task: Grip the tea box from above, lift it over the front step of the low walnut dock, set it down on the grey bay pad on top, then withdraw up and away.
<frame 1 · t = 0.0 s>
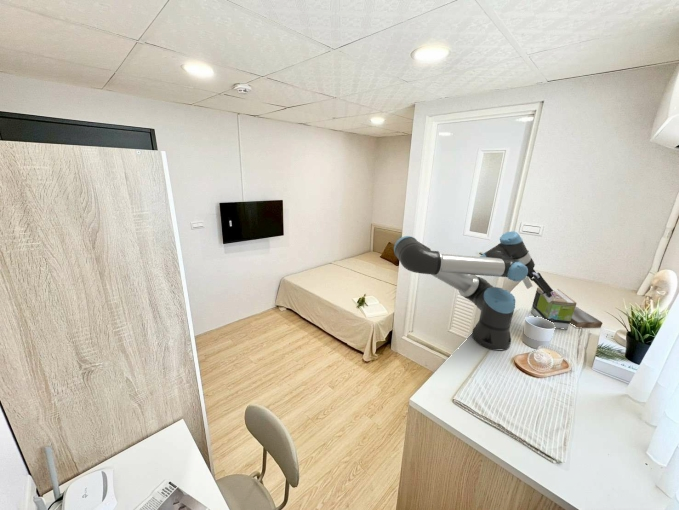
hand: (539, 293, 125), 15 cm above the table, tool tilted 35°, fingers open, 13 cm apart
tea box: (547, 320, 130), on the table
dock: (572, 317, 132), on the table
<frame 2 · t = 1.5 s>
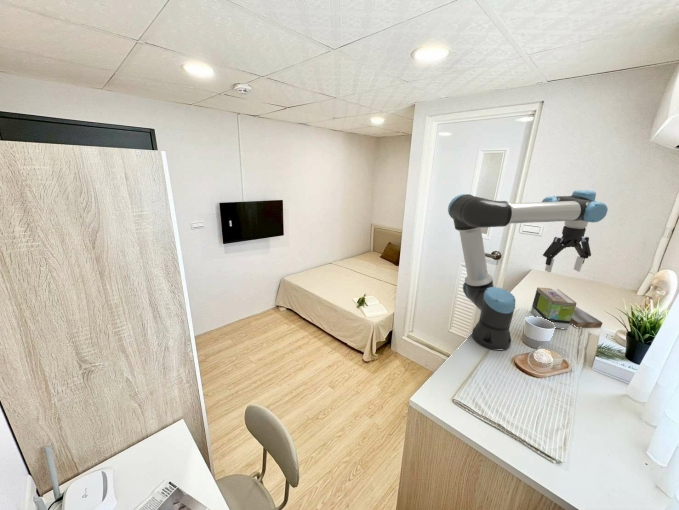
hand: (562, 270, 121), 27 cm above the table, tool pointing down, fingers open, 13 cm apart
nothing on the table moved.
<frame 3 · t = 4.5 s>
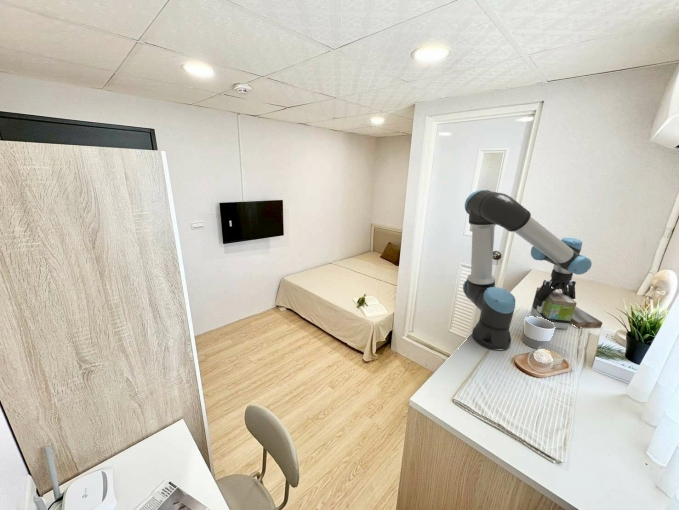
hand: (550, 311, 129), 5 cm above the table, tool pointing down, fingers closed on tea box, 11 cm apart
tea box: (548, 320, 131), on the table, touching gripper
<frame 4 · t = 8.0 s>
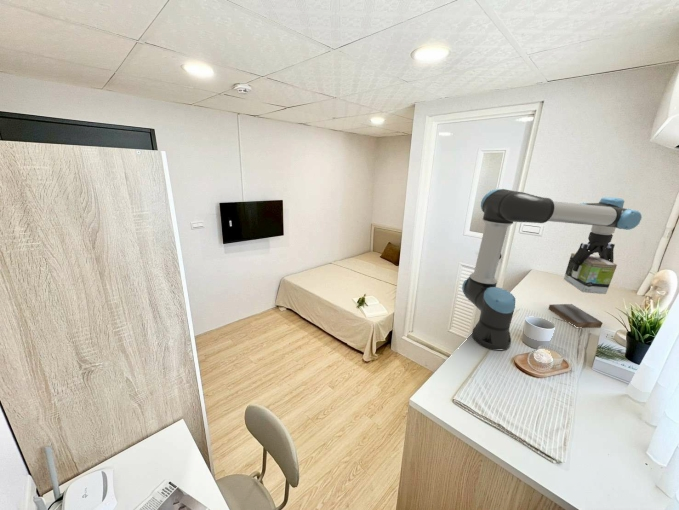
hand: (586, 277, 124), 23 cm above the table, tool pointing down, fingers closed on tea box, 11 cm apart
tea box: (583, 286, 126), point 18 cm above the table, touching gripper
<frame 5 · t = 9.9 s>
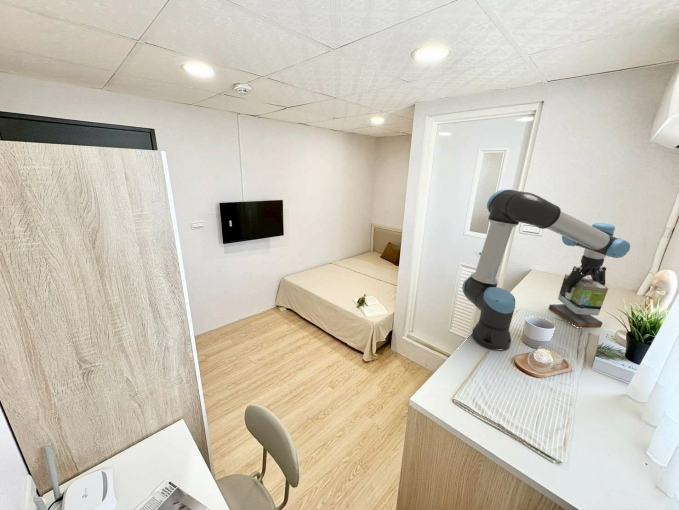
hand: (579, 298, 128), 11 cm above the table, tool pointing down, fingers closed on tea box, 11 cm apart
tea box: (576, 307, 130), point 6 cm above the table, touching gripper
when the fingers open (9 cm above the table, at t = 11.4 s): tea box drops 1 cm, resting on dock.
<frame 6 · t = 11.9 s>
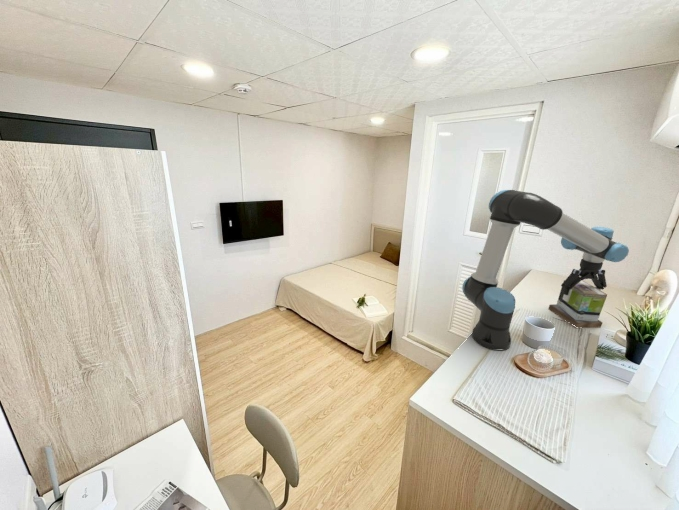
hand: (578, 300, 129), 10 cm above the table, tool pointing down, fingers open, 13 cm apart
tea box: (575, 313, 131), point 3 cm above the table, touching dock
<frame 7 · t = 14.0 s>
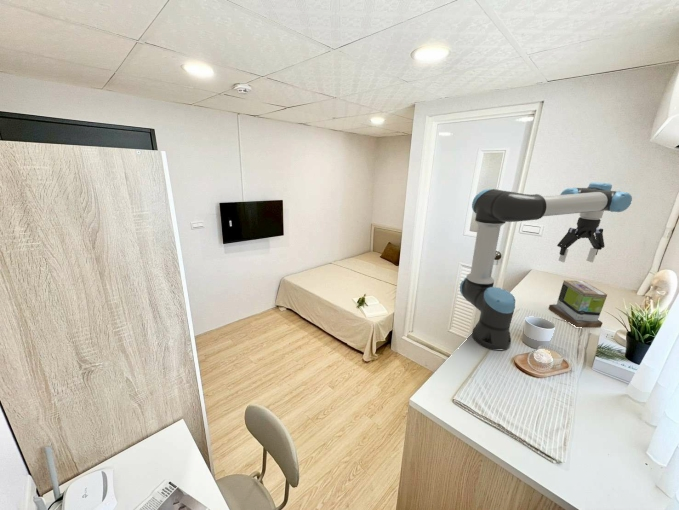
hand: (575, 261, 125), 30 cm above the table, tool pointing down, fingers open, 13 cm apart
nothing on the table moved.
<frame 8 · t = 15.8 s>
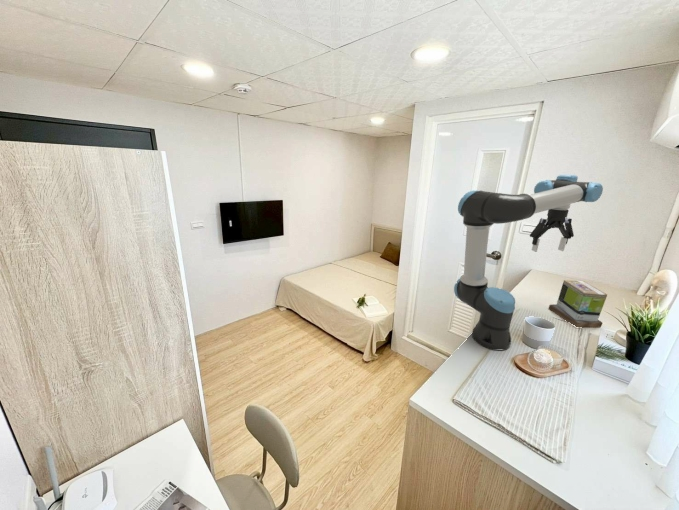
hand: (547, 250, 131), 33 cm above the table, tool pointing down, fingers open, 13 cm apart
nothing on the table moved.
at the end: tea box inside the target area (0.4 cm from its centre), point 2.8 cm above the table; tea box tilted 0°; the gripper is holding nothing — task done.
